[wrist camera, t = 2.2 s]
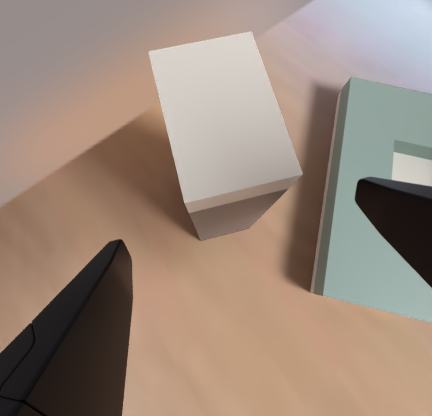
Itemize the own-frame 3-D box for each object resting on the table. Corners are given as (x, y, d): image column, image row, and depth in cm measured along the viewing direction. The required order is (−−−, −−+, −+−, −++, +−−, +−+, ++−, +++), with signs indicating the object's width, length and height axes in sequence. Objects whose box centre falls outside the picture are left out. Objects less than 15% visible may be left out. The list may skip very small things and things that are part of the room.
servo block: (248, 228, 20) (303, 174, 8) (200, 240, 19) (184, 203, 8) (229, 161, 21) (251, 31, 9) (184, 172, 21) (148, 51, 9)
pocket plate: (496, 338, 18) (534, 348, 16) (310, 292, 19) (322, 296, 16) (489, 127, 22) (519, 112, 20) (337, 94, 23) (351, 76, 21)
